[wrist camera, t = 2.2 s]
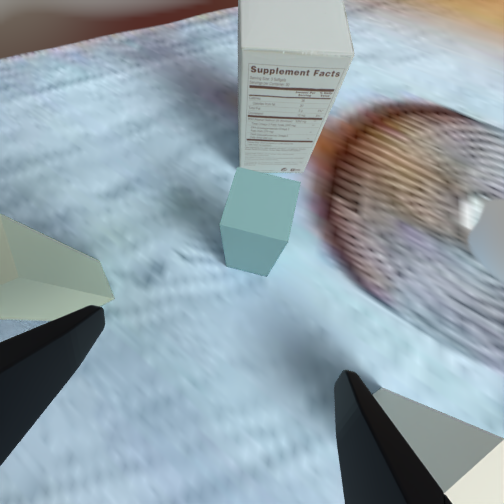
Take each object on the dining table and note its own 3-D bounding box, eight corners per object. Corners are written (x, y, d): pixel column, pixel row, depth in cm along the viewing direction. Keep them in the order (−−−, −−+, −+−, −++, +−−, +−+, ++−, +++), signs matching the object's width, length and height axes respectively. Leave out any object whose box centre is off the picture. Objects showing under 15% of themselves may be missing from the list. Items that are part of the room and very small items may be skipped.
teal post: (266, 276, 23) (288, 241, 14) (226, 266, 23) (219, 224, 14) (275, 238, 24) (300, 182, 15) (237, 229, 24) (237, 166, 15)
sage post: (69, 321, 21) (-71, 317, 11) (55, 281, 22) (-86, 246, 12) (114, 299, 22) (18, 277, 12) (99, 261, 23) (-1, 213, 13)
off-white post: (374, 464, 19) (510, 601, 10) (345, 414, 20) (443, 493, 11) (411, 434, 20) (572, 533, 10) (382, 387, 21) (504, 438, 11)
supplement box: (237, 120, 28) (238, -31, 16) (299, 122, 29) (344, -23, 17) (237, 174, 26) (237, 45, 14) (304, 175, 27) (359, 52, 15)
